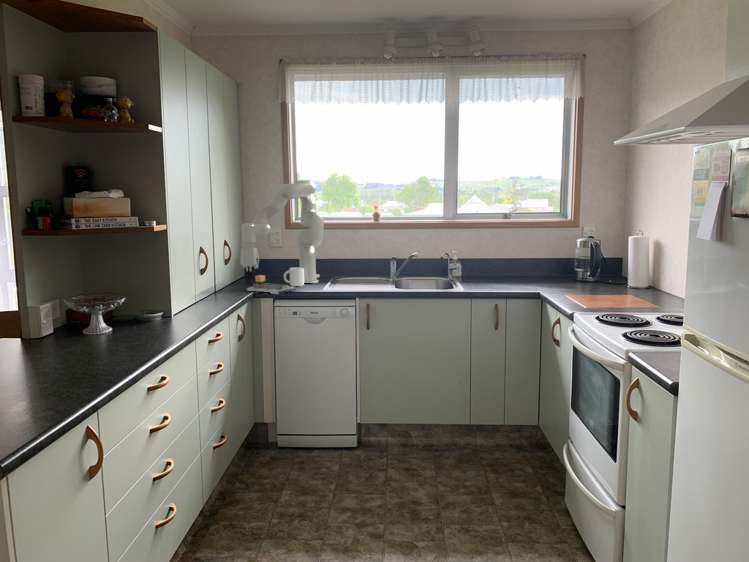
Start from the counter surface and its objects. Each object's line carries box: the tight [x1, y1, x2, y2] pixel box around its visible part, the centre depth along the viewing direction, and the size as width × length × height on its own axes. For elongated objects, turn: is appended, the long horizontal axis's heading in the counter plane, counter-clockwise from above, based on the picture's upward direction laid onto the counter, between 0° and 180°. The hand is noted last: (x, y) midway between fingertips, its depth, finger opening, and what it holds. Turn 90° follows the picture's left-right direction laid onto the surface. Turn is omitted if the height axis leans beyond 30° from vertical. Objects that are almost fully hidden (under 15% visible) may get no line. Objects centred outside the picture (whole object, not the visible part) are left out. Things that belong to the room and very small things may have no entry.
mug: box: [283, 266, 305, 287], centre depth 346 cm, size 12×8×10 cm
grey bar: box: [279, 287, 297, 295], centre depth 324 cm, size 13×1×1 cm, turn 151°
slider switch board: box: [246, 282, 295, 295], centre depth 330 cm, size 14×21×4 cm, turn 61°
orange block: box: [254, 274, 266, 285], centre depth 333 cm, size 4×4×6 cm
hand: (250, 278), depth 336 cm, fingers closed
